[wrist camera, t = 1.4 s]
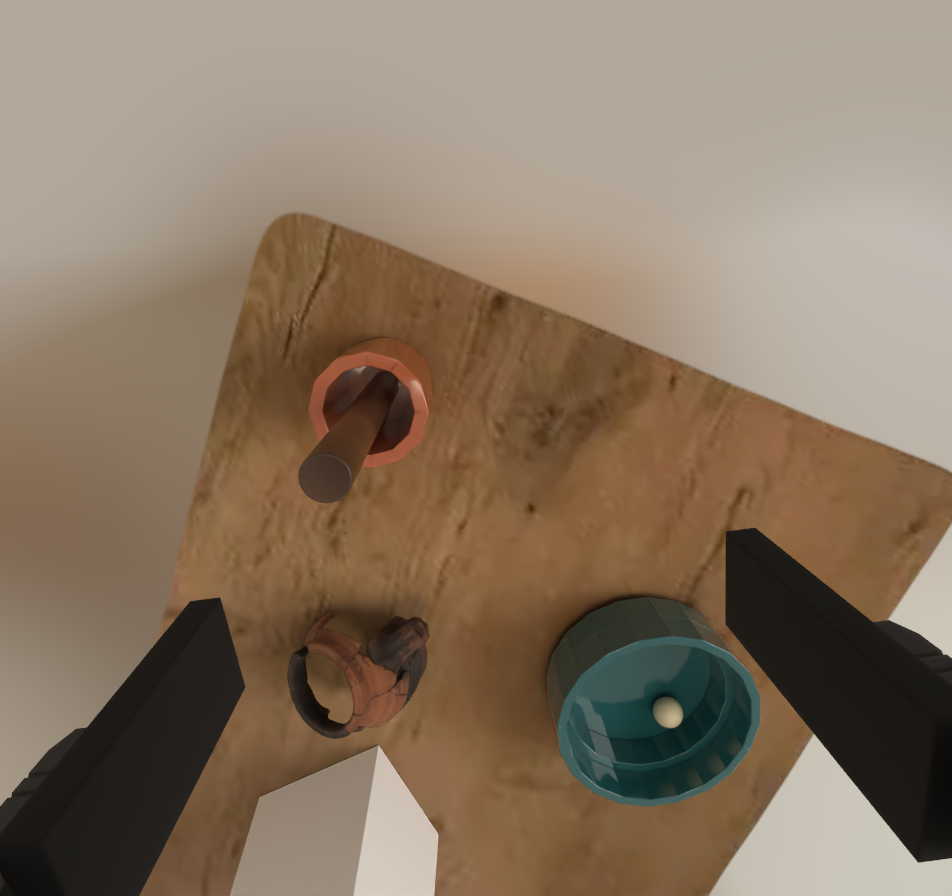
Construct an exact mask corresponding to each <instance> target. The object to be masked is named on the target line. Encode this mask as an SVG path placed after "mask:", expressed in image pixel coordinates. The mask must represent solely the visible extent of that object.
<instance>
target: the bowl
mask: <svg viewBox="0 0 952 896" xmlns="http://www.w3.org/2000/svg"><path fill="white" fill-rule="evenodd" d="M546 687H547V694H548V702H549V707H550V711H551V716H552V720H553V724H554V729H555V733H556V737H557V742H558V746H559V750H560V754H561V756H562V757H563V759H564V761H565V763H566V764H567V766H568V768H569V770H570V772H571V773H572V775H573V776H574V777H575V778H576V779H578V780H579V781H580V782H581V783H582V784H583V785H585V786H586V787H587V788H588V789H589V790H591V791H592V792H594V793H595V794H597V795H600V796H602V797H605V798H607V799H610V800H612V801H615V802H617V803H620V804H629V805H639V806H648V807H649V806H656V805H663V804H670V803H676V802H679V801H683V800H685V799H688V798H690V797H693V796H695V795H697V794H700V793H702V792H705V791H707V790H709V789H711V788H712V787H713V786H715V785H716V784H717V783H719V782H720V781H722V780H723V779H724V778H726V777H727V776H728V775H730V774H731V773H732V772H733V771H734V770H735V768H736V767H737V766H738V765H739V763H740V762H741V761H742V759H743V758H744V757H745V756H746V754H747V753H748V752H749V751H750V749H751V746H752V744H753V741H754V738H755V736H756V733H757V730H758V728H759V725H760V695H759V693H758V691H757V688H756V686H755V683H754V681H753V678H752V676H751V674H750V672H749V671H748V669H747V668H746V667H745V665H744V664H743V663H742V661H741V660H740V659H739V658H738V656H737V655H736V654H735V652H734V651H733V650H732V648H731V647H730V646H729V644H728V643H727V642H726V641H725V639H724V638H723V637H722V635H721V634H720V633H719V631H718V630H717V629H716V628H715V627H714V626H713V625H712V624H711V623H710V622H709V621H708V620H707V619H706V618H705V617H704V616H703V615H702V614H701V613H700V612H698V611H696V610H694V609H692V608H690V607H688V606H686V605H684V604H682V603H680V602H677V601H674V600H667V599H660V598H653V597H641V598H634V599H627V600H621V601H615V602H613V603H611V604H609V605H606V606H604V607H602V608H600V609H597V610H595V611H593V612H591V613H589V614H588V615H586V616H585V617H584V618H583V619H582V620H580V621H579V622H578V623H577V624H576V625H574V626H573V627H572V628H571V629H570V630H568V631H567V632H566V634H565V635H564V637H563V638H562V640H561V641H560V643H559V644H558V646H557V648H556V649H555V651H554V652H553V654H552V656H551V660H550V664H549V668H548V672H547V676H546ZM661 697H671V698H673V699H675V700H676V701H677V702H678V703H679V704H680V705H681V707H682V710H683V719H682V721H681V723H680V724H679V725H678V726H676V727H674V728H666V727H663V726H662V725H660V724H659V723H658V722H657V721H656V719H655V717H654V715H653V706H654V704H655V702H656V701H657V700H658V699H659V698H661Z"/></svg>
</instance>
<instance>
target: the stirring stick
mask: <svg viewBox="0 0 952 896" xmlns="http://www.w3.org/2000/svg"><path fill="white" fill-rule="evenodd" d="M398 390H399V382H398V380H397V378H396V377H395V376H394V375H393V374H391V373H389V372H380V373H378V374H376V375H375V376H374V377H373V378H372V379H371V381H370V382H369V383H368V384H367V385H366V387H365V388H364V389H363V390H362V392H361V393H360V394H359V395H358V396H357V398H356V399H355V400H354V401H353V402H352V404H351V405H350V406H349V407H348V408H347V410H346V411H345V412H344V413H343V415H342V416H341V417H340V418H339V419H338V421H337V422H336V423H335V424H334V425H333V427H332V428H331V429H330V430H329V431H328V433H327V434H326V435H325V436H324V437H323V439H322V440H321V441H320V442H319V444H318V445H317V446H316V447H315V448H314V450H313V451H312V452H311V453H310V454H309V456H308V457H307V458H306V459H305V460H304V462H303V463H302V465H301V467H300V469H299V474H298V479H299V484H300V486H301V488H302V490H303V491H304V493H305V494H306V495H307V496H308V497H310V498H311V499H313V500H315V501H317V502H321V503H333V502H336V501H339V500H341V499H342V498H344V497H345V496H346V495H347V494H348V492H349V491H350V489H351V487H352V485H353V483H354V481H355V479H356V477H357V475H358V473H359V471H360V468H361V466H362V464H363V462H364V460H365V458H366V456H367V454H368V452H369V450H370V448H371V446H372V444H373V442H374V440H375V438H376V436H377V434H378V432H379V430H380V428H381V426H382V423H383V421H384V419H385V417H386V415H387V413H388V411H389V409H390V407H391V405H392V403H393V401H394V399H395V397H396V395H397V393H398Z"/></svg>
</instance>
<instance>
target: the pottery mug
mask: <svg viewBox="0 0 952 896" xmlns="http://www.w3.org/2000/svg"><path fill="white" fill-rule="evenodd" d="M331 617H332V613H331V612H328V613H327V614H325V615H324V616H323V617H322V618H320V619H319V620H318V621H317V622H316V623H315V624H314V625H313V626H312V627H311V628H310V630H309V632H308V633H307V634H306V636H305V639H304V641H303V643H302V646H301V649H300V650H298V651H296V652H294V653H293V654H292V656H291V659H290V662H289V667H288V675H287V676H288V677H287V678H288V685H289V688H290V694H291V697H292V701H293V702H294V704H295V707H296V709H297V711H298V712H299V714H300V715H301V717H302V719H303V720H304V721H305V722H306V723H307V724H308V725H309V726H310V727H311V728H312V729H313V730H315V731H316V732H318V733H319V734H321V735H322V736H326V737H328V738H333V739H336V738H343V737H346V736H348V735H350V733H352V732H358V731H361V730H363V729H364V727H369V728H373V727H379V726H381V725H382V724H384V723H386V722H388V721H389V720H391V719H392V718H393V717H394V716H395V714H397V713H398V712H399V711H401V710H402V709H403V707H404V706H405V705H406V704H407V703H408V701H409V700H410V698H411V697H412V695H413V693H414V692H415V690H416V688H417V685H418V683H419V680H420V678H421V677H422V675H423V673H424V671H425V668H426V662H427V651H426V647H425V643H426V641H427V640H428V638H429V630H428V625H427V624H426V623H425V622H424V621H423V620H422V619H421V618H418V617H413V618H411V619H408V620H405V619H404V618H402V617H398V616H396V617H395V618H393V619H392V620H391V621H390V623H388V625H387V626H383V627H381V628H380V629H379V630H377V631H375V632H374V633H373V635H372V636H371V639H370V641H369V642H368V645H367V653H368V655H369V657H367V656H364V655H362V654H360V653H359V651H360V648H361V646H362V644H361V643H360V642H359V641H356V640H354V639H352V638H350V637H348V636H346V635H344V634H341V633H337V632H334V631H332V630H329V629H322V628H323V626H324V625H325V623H326V622H327V621H328V620H329V619H331ZM308 652H310V653H318V654H322V655H325V656H327V657H328V658H330V659H331V660H332V661H334V662H335V663H336V664H337V665H338V666H339V667H340V668H341V670H343V671H344V673H345V676H346V678H347V680H348V682H349V685H350V687H351V691H352V695H353V702H354V705H353V714H352V716H351V719H350V720H349V721H348V722H347V723H345V724H341V723H337V722H335V721H332V720H330V719H328V714H329V712H330V710H329V709H327V708H325V707H323V706H321V705H320V704H319V702H318V701H317V700H316V698H315V696H314V694H313V692H312V689H311V688H310V686H309V685H308V683H307V671H306V664H305V658H306V656H307V654H308ZM400 667H402V668H403V671H402V672H401V674H400V675H399V676H398V678H397V671H399V669H400Z"/></svg>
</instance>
